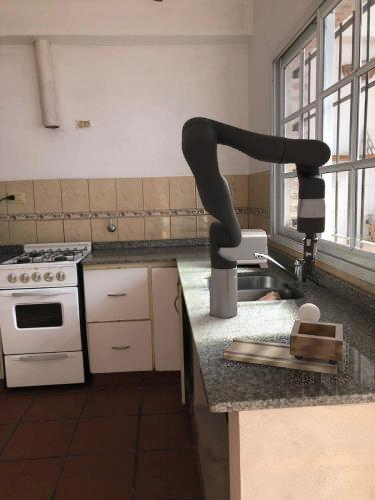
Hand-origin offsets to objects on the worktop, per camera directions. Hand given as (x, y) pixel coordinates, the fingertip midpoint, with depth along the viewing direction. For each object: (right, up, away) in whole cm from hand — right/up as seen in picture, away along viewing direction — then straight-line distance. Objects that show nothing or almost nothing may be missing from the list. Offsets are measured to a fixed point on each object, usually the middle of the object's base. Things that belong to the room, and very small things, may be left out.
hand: (309, 272), depth 110 cm
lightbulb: (+1, -20, +3) cm, 21 cm away
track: (-10, -22, -8) cm, 25 cm away
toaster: (-3, -3, +118) cm, 118 cm away
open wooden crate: (-2, -20, -11) cm, 23 cm away
